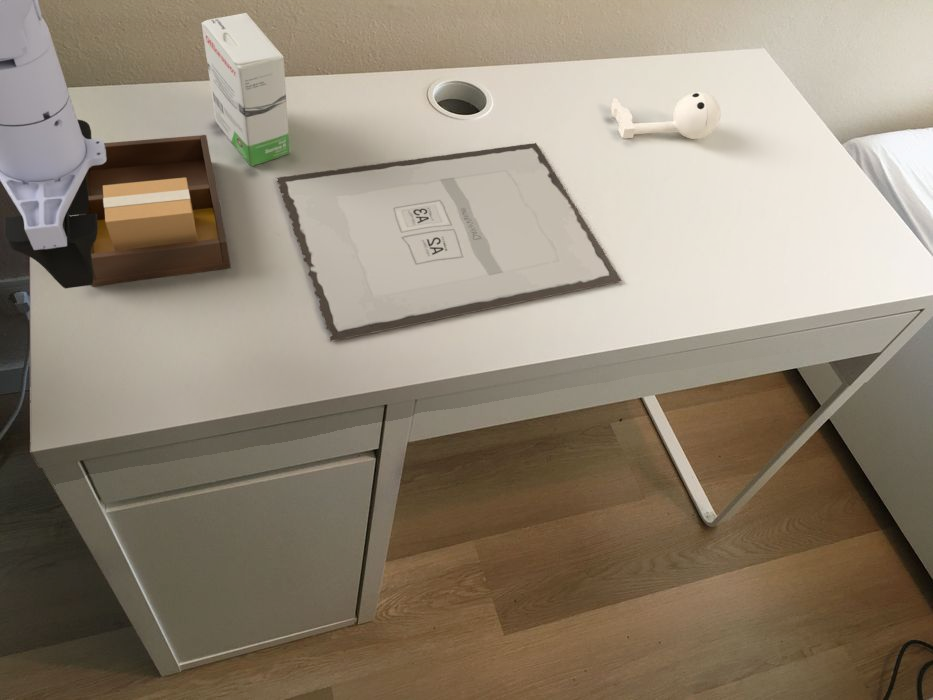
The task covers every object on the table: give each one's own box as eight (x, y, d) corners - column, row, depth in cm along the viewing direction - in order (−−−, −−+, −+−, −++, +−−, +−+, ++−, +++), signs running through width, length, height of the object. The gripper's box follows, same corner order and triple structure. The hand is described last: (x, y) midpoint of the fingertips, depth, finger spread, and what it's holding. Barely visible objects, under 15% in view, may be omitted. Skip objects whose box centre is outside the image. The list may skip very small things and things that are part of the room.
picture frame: (330, 342, 67) (621, 282, 77) (330, 340, 67) (622, 280, 77) (275, 178, 79) (535, 143, 88) (275, 176, 78) (536, 141, 88)
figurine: (734, 109, 88) (638, 115, 86) (718, 146, 93) (626, 154, 91) (708, 67, 93) (615, 73, 91) (694, 105, 97) (605, 111, 95)
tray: (91, 286, 68) (80, 259, 65) (84, 173, 75) (74, 145, 73) (230, 268, 71) (226, 241, 68) (210, 162, 79) (206, 134, 76)
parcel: (118, 262, 68) (104, 221, 64) (115, 226, 71) (102, 184, 67) (200, 252, 70) (192, 212, 66) (194, 217, 73) (186, 176, 69)
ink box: (292, 154, 81) (287, 56, 72) (249, 168, 79) (238, 68, 70) (255, 108, 85) (246, 8, 76) (213, 120, 83) (198, 19, 73)
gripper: (93, 167, 46) (138, 309, 57) (83, 30, 53) (125, 178, 64) (-40, 179, 44) (33, 324, 55) (-30, 34, 51) (32, 187, 62)
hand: (76, 246), depth 59 cm, fingers open, 7 cm apart
